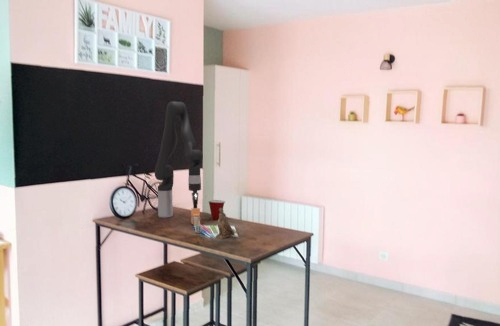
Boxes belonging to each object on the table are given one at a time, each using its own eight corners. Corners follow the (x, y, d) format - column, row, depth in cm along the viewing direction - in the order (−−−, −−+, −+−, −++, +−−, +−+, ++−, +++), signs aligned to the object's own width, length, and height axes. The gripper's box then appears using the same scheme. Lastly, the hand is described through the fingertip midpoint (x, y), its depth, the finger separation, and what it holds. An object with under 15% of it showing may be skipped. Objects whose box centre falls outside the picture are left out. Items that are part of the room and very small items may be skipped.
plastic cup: (228, 218, 270) (228, 200, 269) (216, 221, 262) (216, 202, 261) (217, 216, 277) (217, 198, 276) (204, 219, 269) (204, 200, 268)
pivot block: (193, 223, 257) (193, 215, 256) (198, 223, 257) (197, 215, 257) (193, 225, 253) (193, 216, 253) (198, 224, 254) (198, 216, 253)
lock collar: (191, 223, 256) (191, 208, 255) (199, 222, 257) (199, 208, 256) (191, 224, 253) (191, 209, 252) (200, 223, 254) (200, 209, 253)
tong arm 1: (193, 225, 252) (193, 218, 252) (195, 224, 253) (195, 218, 252) (195, 232, 235) (195, 225, 234) (198, 232, 235) (198, 225, 235)
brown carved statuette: (222, 243, 224) (217, 212, 219) (214, 241, 227) (210, 210, 222) (236, 234, 233) (232, 203, 228) (228, 232, 236) (224, 202, 231)
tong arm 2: (196, 224, 253) (196, 218, 252) (198, 224, 253) (198, 218, 253) (198, 232, 235) (198, 225, 235) (200, 232, 235) (200, 225, 235)
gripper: (201, 183, 253) (202, 212, 255) (200, 180, 266) (200, 208, 268) (189, 184, 252) (189, 212, 253) (188, 181, 265) (188, 208, 266)
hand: (195, 210), depth 261 cm, fingers closed
